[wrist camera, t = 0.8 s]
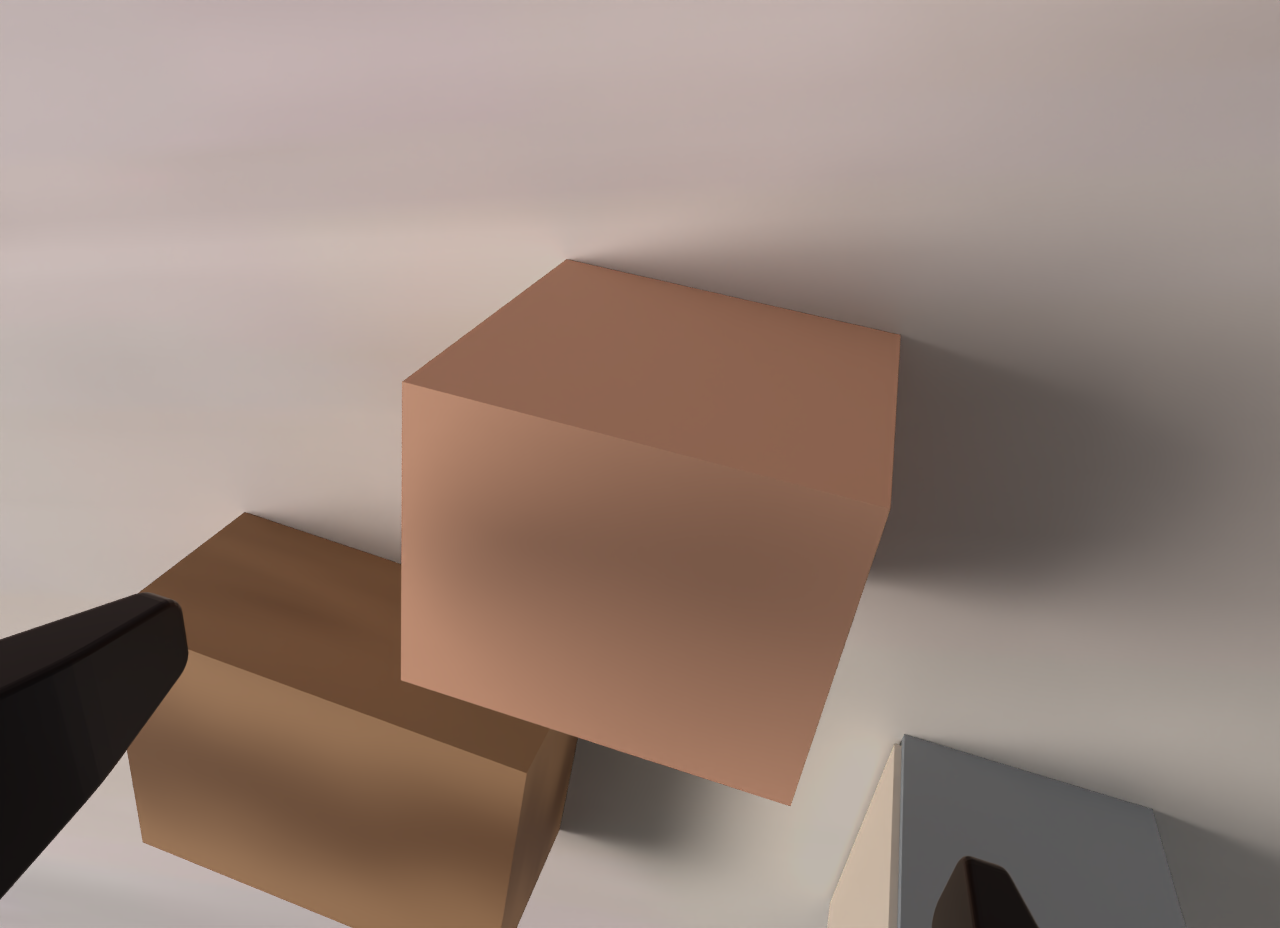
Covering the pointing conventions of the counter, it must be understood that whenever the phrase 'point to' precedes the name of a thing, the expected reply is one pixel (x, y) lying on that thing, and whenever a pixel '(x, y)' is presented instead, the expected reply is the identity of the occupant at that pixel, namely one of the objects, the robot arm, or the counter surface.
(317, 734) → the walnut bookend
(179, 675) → the robot arm
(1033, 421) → the counter surface
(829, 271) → the counter surface
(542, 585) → the terracotta clay cube
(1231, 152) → the counter surface
